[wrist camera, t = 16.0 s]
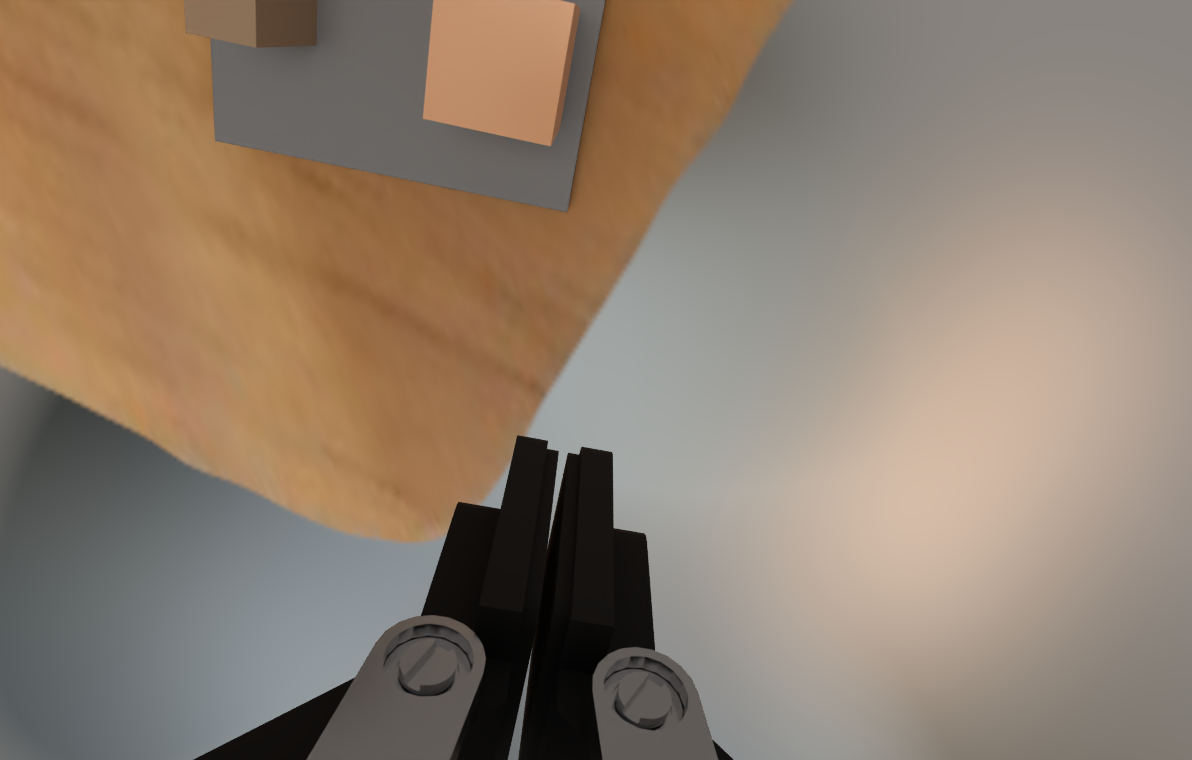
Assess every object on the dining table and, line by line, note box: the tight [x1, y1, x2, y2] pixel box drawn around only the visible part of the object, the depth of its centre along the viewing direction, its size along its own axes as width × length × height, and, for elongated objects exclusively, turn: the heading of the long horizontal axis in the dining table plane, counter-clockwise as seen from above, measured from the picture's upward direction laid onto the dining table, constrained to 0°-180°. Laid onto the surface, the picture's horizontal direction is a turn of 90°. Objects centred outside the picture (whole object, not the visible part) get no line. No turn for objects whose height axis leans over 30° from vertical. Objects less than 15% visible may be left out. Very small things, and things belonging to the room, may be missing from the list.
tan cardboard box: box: [423, 0, 581, 146], centre depth 33 cm, size 6×6×7 cm
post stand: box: [184, 0, 605, 212], centre depth 34 cm, size 15×20×8 cm
